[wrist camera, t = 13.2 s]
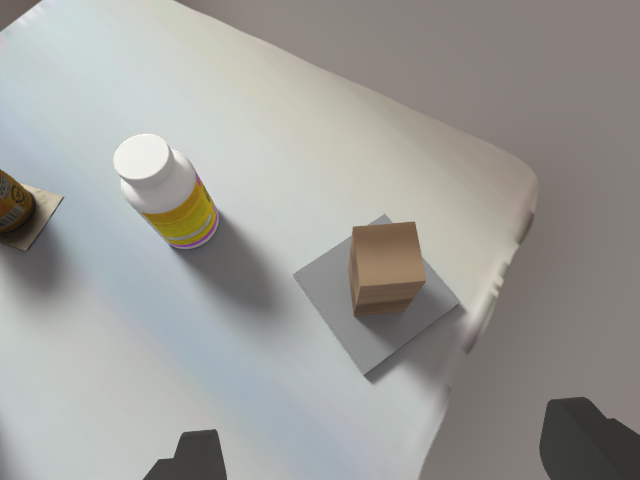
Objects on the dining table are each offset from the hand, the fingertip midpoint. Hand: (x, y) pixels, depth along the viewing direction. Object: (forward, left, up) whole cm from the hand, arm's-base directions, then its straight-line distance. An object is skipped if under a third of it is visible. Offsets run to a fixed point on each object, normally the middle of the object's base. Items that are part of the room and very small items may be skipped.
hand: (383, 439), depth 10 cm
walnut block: (+10, +8, -28) cm, 31 cm away
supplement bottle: (-2, +26, -30) cm, 40 cm away
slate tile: (+10, +8, -29) cm, 32 cm away
